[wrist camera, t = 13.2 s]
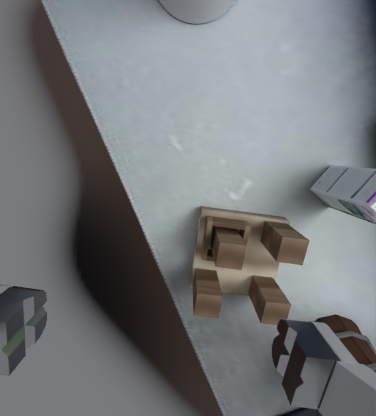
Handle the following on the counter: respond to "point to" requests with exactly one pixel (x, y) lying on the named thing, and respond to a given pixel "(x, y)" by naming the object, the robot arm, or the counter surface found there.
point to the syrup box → (349, 191)
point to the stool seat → (245, 263)
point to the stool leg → (227, 248)
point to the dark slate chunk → (305, 412)
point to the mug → (352, 339)
